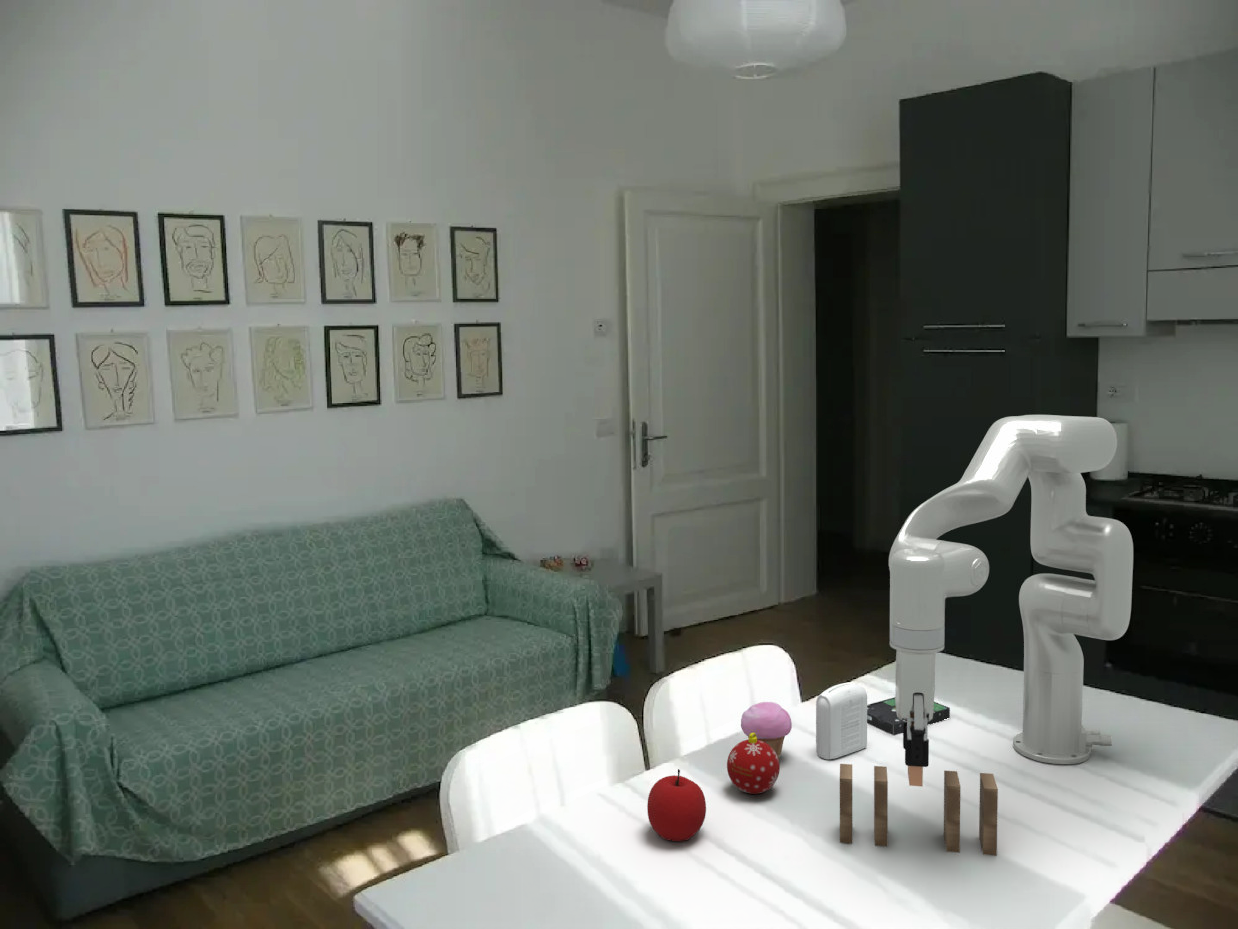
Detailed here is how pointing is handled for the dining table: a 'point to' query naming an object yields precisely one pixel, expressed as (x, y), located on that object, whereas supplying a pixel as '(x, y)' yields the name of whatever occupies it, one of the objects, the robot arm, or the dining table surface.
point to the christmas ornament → (753, 766)
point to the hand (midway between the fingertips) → (915, 756)
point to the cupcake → (767, 724)
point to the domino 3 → (915, 770)
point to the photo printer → (841, 720)
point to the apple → (676, 808)
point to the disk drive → (887, 719)
